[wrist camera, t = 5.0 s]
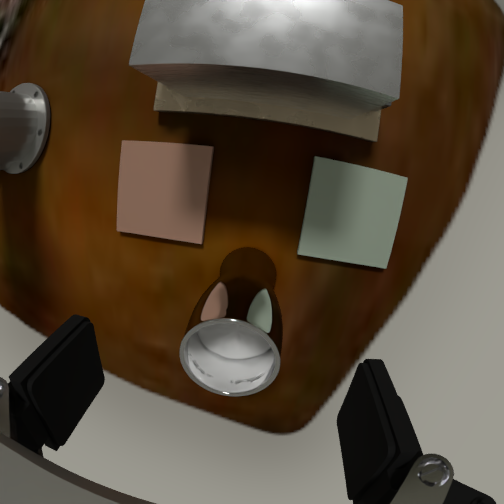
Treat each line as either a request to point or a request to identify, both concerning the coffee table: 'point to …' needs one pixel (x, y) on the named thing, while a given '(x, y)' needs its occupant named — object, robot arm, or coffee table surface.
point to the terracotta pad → (164, 189)
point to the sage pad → (351, 213)
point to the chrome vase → (236, 328)
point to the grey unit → (275, 60)
